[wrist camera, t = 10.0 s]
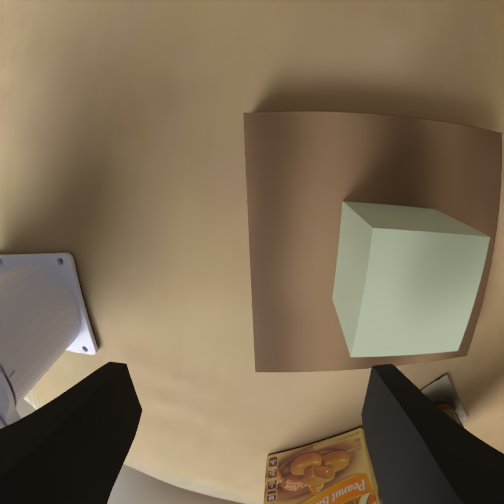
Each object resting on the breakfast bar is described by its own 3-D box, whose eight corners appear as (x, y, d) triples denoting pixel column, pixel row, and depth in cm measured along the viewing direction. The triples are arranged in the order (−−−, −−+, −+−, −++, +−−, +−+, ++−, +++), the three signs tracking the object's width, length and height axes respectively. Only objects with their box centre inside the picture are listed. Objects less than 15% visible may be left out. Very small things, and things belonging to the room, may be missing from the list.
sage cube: (331, 298, 16) (350, 357, 11) (342, 201, 14) (372, 228, 10) (418, 299, 16) (457, 350, 11) (434, 209, 14) (490, 237, 9)
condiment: (403, 455, 23) (429, 555, 12) (367, 420, 22) (395, 548, 10) (467, 416, 22) (511, 510, 10) (445, 371, 20) (507, 490, 9)
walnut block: (258, 343, 21) (255, 371, 18) (249, 119, 16) (243, 112, 13) (449, 332, 19) (466, 355, 17) (474, 132, 15) (501, 132, 12)
